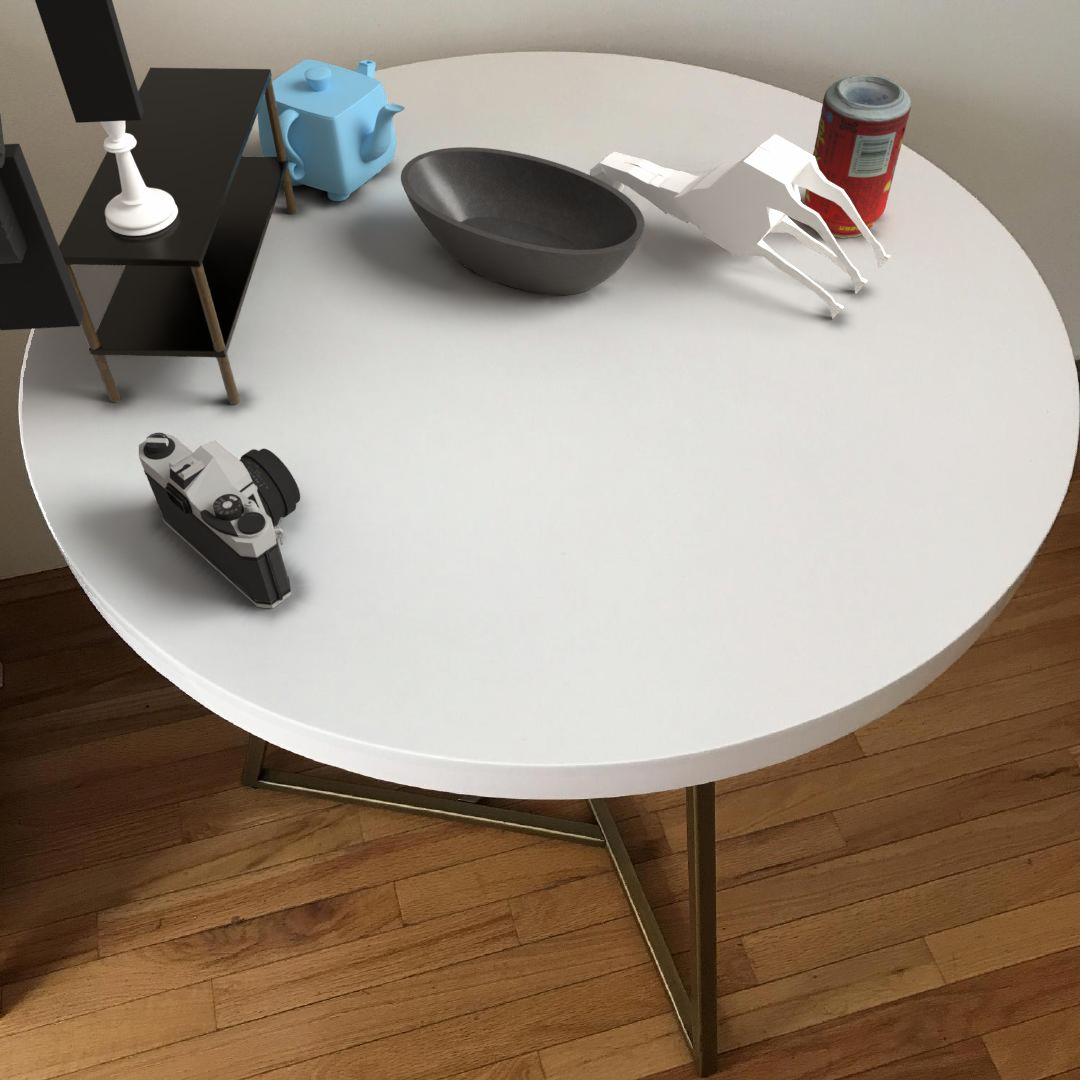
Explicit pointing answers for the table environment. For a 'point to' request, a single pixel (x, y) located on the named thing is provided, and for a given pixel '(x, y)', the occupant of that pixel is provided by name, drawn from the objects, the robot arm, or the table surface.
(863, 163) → the soda can
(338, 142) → the teapot
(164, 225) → the chess piece
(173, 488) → the camera
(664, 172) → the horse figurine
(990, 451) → the table surface
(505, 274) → the bowl
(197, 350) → the rack
